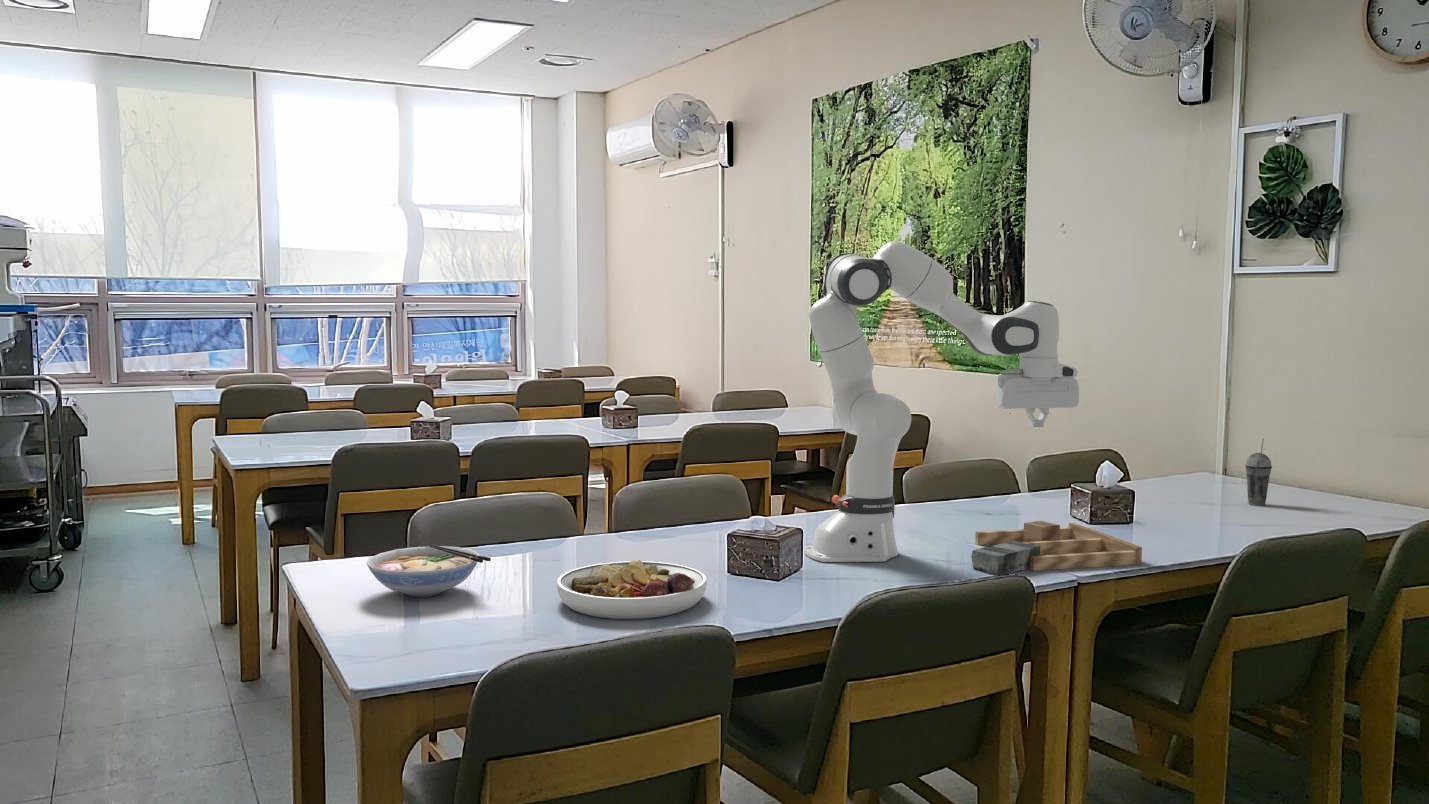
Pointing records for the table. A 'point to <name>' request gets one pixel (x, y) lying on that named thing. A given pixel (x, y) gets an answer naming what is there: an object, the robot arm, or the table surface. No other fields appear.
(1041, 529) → the walnut block
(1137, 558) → the divided wooden tray
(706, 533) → the table surface
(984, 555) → the stone block
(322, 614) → the table surface
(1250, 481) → the beverage cup
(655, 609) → the bowl
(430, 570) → the ramen bowl
